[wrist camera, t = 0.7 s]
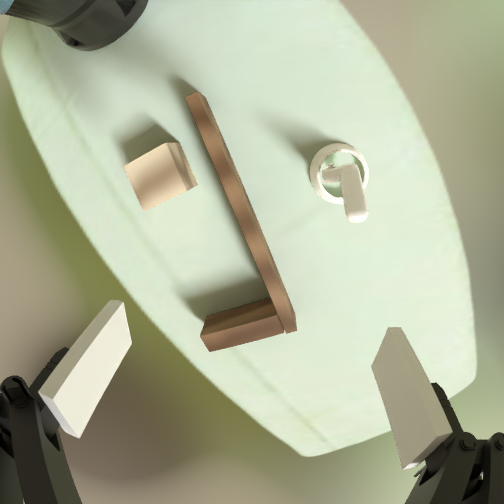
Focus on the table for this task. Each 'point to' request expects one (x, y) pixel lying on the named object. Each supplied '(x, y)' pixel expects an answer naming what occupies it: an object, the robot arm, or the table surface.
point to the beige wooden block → (160, 175)
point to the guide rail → (278, 304)
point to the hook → (342, 181)
